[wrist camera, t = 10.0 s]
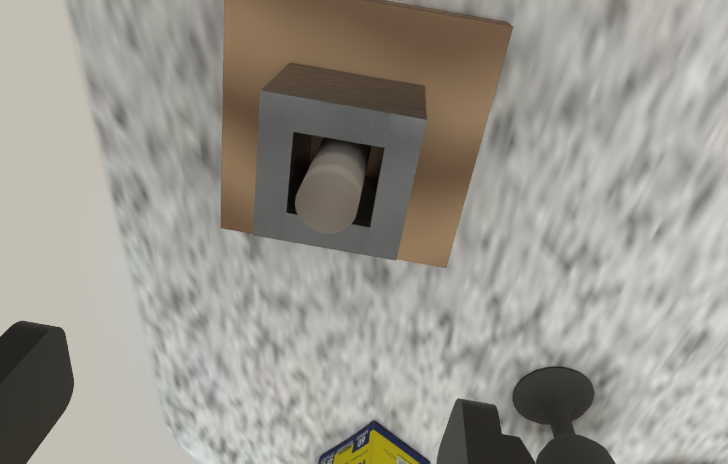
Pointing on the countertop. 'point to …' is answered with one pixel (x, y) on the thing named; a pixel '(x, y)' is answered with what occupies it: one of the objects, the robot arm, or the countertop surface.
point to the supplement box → (372, 449)
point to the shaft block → (371, 58)
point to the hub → (342, 122)
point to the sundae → (560, 414)
